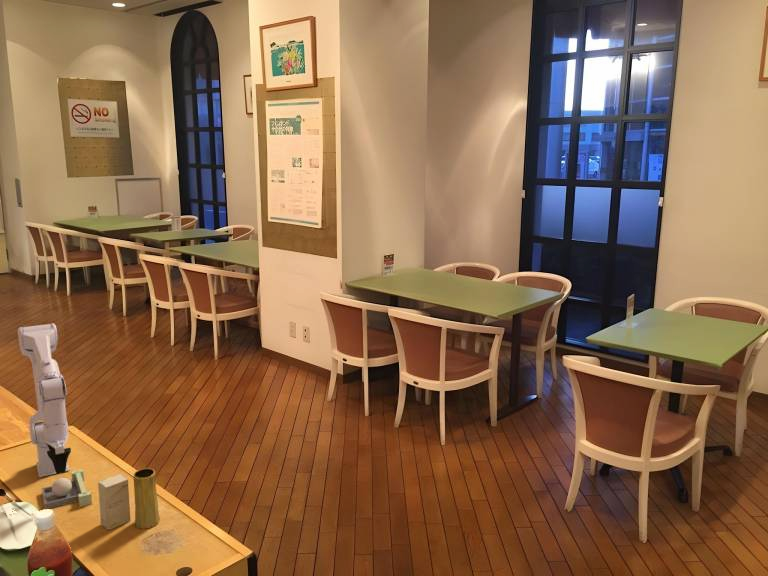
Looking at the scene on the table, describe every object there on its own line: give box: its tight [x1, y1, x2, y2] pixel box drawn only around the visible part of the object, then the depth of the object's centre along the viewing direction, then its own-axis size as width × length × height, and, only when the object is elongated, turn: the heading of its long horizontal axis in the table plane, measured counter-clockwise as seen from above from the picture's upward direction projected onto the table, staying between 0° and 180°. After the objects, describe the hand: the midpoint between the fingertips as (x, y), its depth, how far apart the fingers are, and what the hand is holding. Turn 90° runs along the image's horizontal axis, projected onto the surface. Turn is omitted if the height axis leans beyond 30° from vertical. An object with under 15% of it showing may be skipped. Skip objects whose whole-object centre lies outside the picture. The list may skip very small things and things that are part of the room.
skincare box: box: [97, 473, 131, 531], centre depth 165 cm, size 6×4×12 cm
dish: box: [41, 480, 81, 509], centre depth 177 cm, size 9×9×2 cm
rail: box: [70, 468, 93, 508], centre depth 179 cm, size 16×3×3 cm, turn 33°
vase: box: [133, 467, 160, 530], centre depth 165 cm, size 6×6×14 cm
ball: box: [51, 477, 72, 497], centre depth 176 cm, size 5×5×5 cm
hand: (59, 466), depth 175 cm, fingers open, 7 cm apart
